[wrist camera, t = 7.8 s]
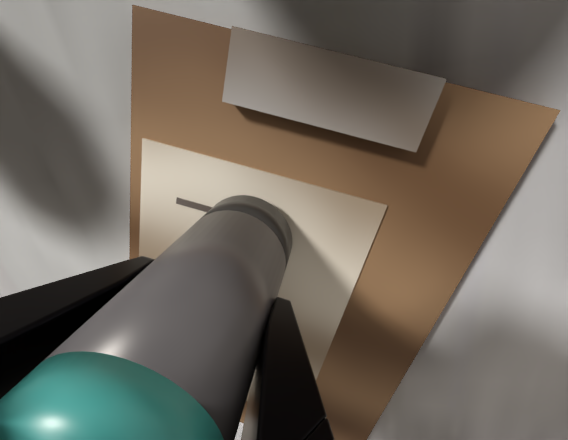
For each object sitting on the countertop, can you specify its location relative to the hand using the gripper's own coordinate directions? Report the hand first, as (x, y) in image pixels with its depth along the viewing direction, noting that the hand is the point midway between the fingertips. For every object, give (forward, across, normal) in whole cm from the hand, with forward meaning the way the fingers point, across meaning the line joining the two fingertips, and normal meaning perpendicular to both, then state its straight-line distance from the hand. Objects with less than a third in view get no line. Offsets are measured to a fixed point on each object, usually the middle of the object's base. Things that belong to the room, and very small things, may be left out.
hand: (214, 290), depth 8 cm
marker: (+3, 0, 0) cm, 3 cm away
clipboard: (+4, -2, +2) cm, 5 cm away
